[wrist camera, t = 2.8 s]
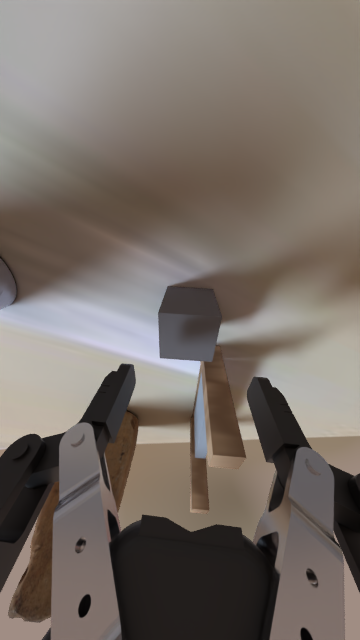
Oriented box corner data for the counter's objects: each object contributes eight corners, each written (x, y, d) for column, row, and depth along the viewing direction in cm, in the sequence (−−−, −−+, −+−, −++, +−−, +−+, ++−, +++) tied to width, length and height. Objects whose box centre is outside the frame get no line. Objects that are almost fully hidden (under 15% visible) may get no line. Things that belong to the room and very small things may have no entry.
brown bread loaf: (142, 411, 32) (87, 629, 15) (140, 428, 36) (95, 615, 19) (88, 402, 31) (-35, 619, 14) (92, 421, 35) (0, 607, 18)
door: (194, 414, 30) (194, 457, 25) (202, 362, 23) (207, 407, 17) (208, 415, 30) (212, 459, 25) (222, 363, 23) (232, 409, 17)
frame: (190, 422, 33) (190, 512, 23) (202, 345, 22) (212, 454, 11) (201, 423, 33) (206, 513, 23) (219, 346, 21) (246, 457, 11)
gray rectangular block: (167, 323, 20) (159, 357, 15) (167, 286, 17) (158, 312, 12) (206, 326, 20) (212, 361, 15) (212, 289, 17) (221, 316, 12)
